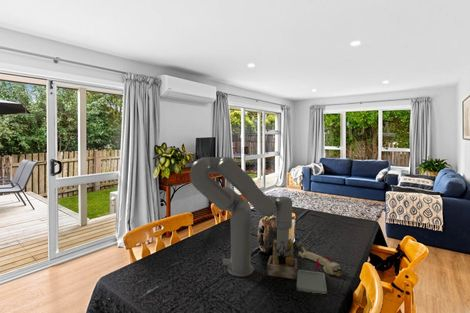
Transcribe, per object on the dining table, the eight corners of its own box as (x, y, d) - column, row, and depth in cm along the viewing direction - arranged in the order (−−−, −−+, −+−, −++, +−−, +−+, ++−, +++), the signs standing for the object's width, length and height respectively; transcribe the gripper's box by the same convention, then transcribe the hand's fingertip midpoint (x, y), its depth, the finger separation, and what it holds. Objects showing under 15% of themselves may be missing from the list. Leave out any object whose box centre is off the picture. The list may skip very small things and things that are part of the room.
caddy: (267, 275, 122) (267, 264, 121) (269, 265, 131) (270, 255, 131) (296, 279, 118) (296, 268, 118) (296, 268, 128) (297, 258, 127)
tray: (296, 290, 110) (296, 286, 110) (297, 272, 124) (297, 269, 124) (326, 295, 107) (326, 291, 107) (324, 276, 121) (324, 273, 121)
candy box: (273, 274, 123) (274, 242, 121) (272, 269, 127) (273, 238, 125) (292, 274, 123) (293, 242, 122) (290, 269, 127) (291, 238, 126)
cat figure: (294, 260, 140) (332, 279, 118) (294, 243, 140) (332, 259, 118) (308, 256, 144) (347, 273, 122) (308, 240, 144) (347, 255, 122)
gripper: (277, 217, 132) (276, 250, 134) (273, 229, 115) (272, 267, 117) (292, 218, 130) (291, 252, 132) (290, 230, 114) (289, 269, 115)
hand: (282, 259), depth 124 cm, fingers open, 8 cm apart
